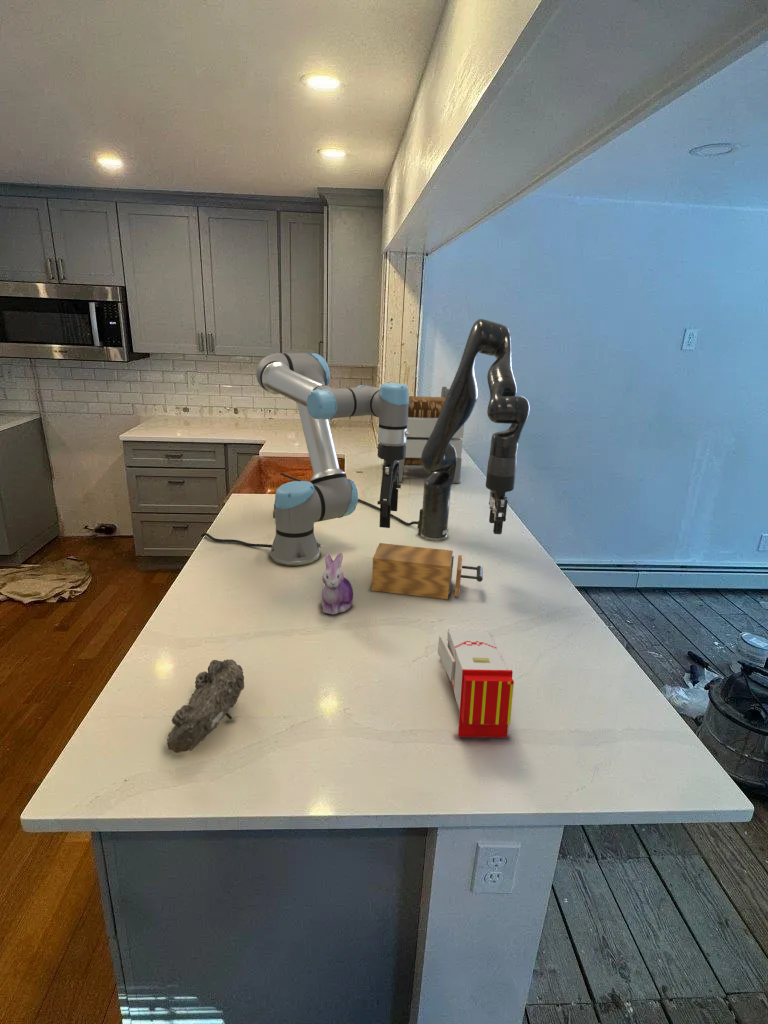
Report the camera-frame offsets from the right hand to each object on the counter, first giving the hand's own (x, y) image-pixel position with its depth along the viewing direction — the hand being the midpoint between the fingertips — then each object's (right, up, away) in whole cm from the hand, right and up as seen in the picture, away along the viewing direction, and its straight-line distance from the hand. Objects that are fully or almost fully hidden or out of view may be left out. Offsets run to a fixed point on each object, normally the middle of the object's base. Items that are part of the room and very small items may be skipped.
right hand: (495, 528), depth 157 cm
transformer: (-13, +23, +118) cm, 121 cm away
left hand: (-29, +3, 0) cm, 30 cm away
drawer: (-16, -17, +5) cm, 24 cm away
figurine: (-43, -21, -7) cm, 48 cm away
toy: (-13, -33, -38) cm, 52 cm away
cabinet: (-23, -17, +6) cm, 29 cm away
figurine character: (-68, +2, +53) cm, 86 cm away
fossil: (-63, -35, -49) cm, 87 cm away
